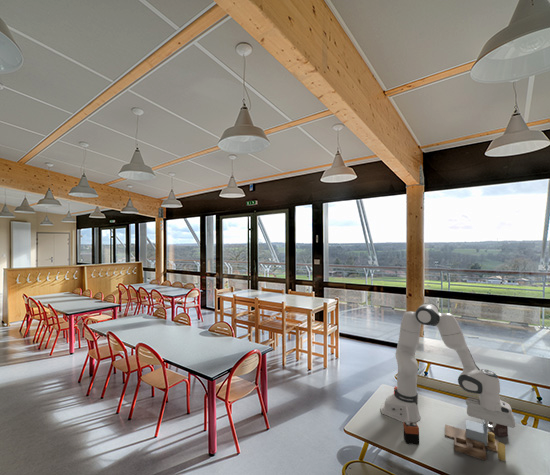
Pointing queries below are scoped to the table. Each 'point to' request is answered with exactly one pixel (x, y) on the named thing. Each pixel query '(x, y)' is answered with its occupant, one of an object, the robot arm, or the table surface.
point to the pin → (501, 451)
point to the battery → (411, 433)
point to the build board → (470, 447)
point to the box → (499, 430)
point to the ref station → (453, 430)
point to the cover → (476, 431)
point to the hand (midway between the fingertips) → (490, 429)
